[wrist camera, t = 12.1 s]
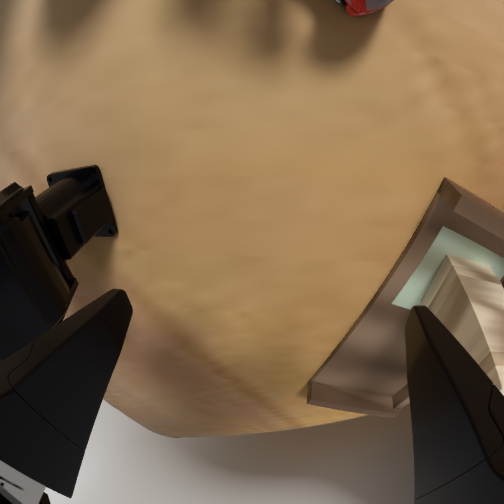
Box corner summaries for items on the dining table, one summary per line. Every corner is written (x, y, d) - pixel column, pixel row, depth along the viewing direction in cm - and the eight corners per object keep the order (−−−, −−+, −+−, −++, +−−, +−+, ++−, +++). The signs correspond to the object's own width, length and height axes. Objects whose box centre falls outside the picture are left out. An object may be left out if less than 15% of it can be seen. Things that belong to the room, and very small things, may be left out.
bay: (392, 397, 33) (394, 417, 30) (308, 381, 33) (306, 403, 30) (535, 236, 17) (551, 256, 15) (444, 177, 17) (461, 195, 15)
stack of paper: (419, 301, 23) (449, 432, 13) (446, 253, 20) (502, 387, 10) (463, 309, 22) (499, 426, 13) (490, 265, 19) (548, 384, 10)
